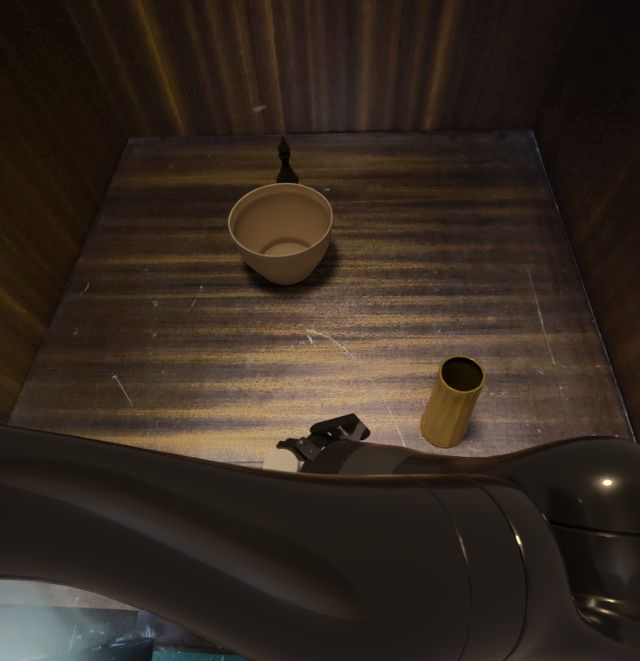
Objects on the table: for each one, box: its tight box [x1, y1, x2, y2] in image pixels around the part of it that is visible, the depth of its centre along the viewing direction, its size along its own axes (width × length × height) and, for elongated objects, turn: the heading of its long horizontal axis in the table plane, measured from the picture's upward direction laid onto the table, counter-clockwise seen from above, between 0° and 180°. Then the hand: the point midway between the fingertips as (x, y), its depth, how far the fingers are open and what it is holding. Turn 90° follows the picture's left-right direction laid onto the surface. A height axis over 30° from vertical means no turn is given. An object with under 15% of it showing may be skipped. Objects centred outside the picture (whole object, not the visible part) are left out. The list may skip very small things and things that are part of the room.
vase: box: [419, 353, 487, 449], centre depth 64 cm, size 6×6×14 cm
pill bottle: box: [261, 448, 303, 472], centre depth 52 cm, size 4×4×8 cm
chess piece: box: [275, 135, 300, 184], centre depth 97 cm, size 4×4×10 cm
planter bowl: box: [227, 183, 334, 286], centre depth 84 cm, size 16×16×11 cm
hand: (268, 469), depth 52 cm, fingers closed on pill bottle, 4 cm apart
